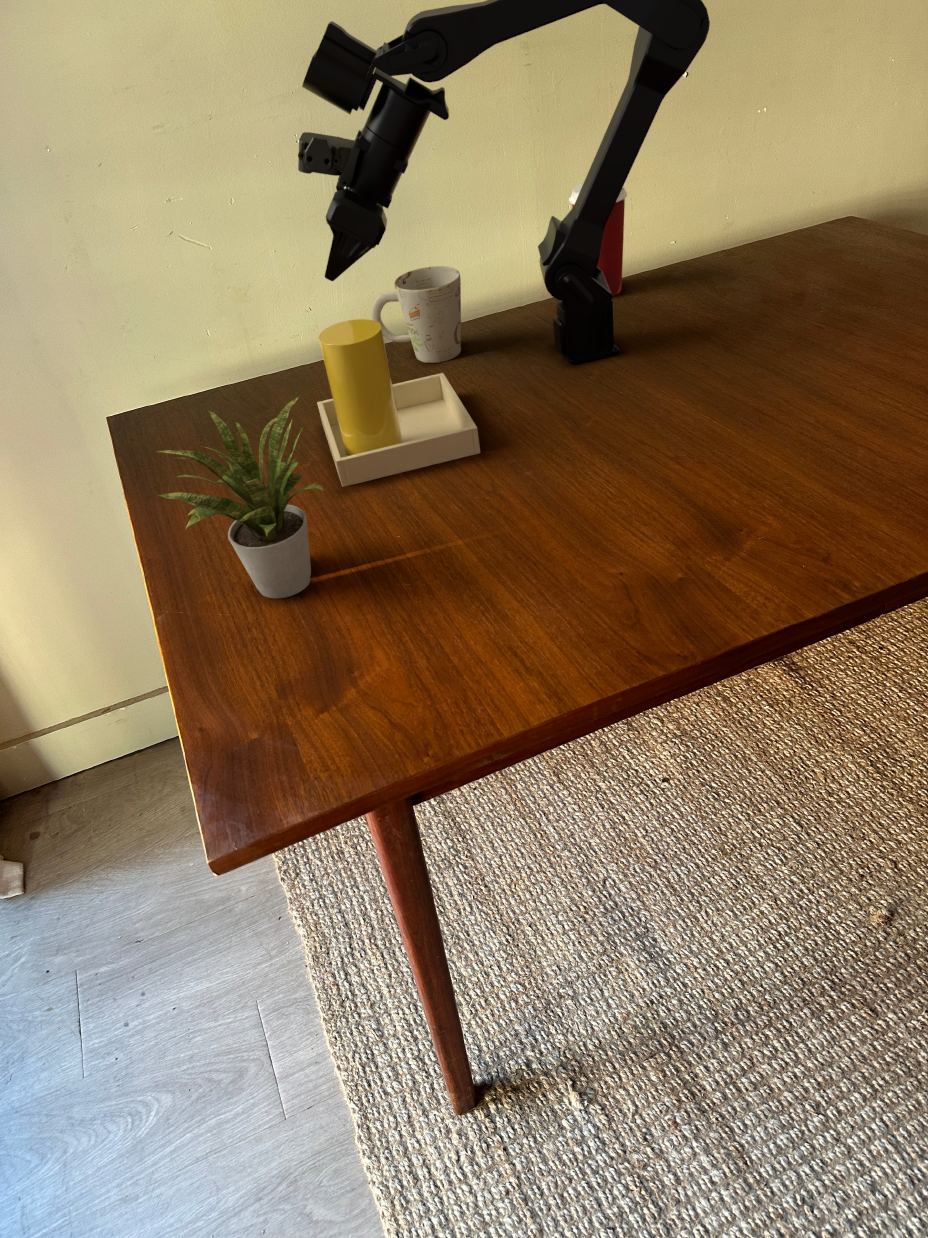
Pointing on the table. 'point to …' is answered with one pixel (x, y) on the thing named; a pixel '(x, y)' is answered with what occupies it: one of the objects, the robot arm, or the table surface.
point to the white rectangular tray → (409, 432)
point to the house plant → (258, 508)
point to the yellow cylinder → (361, 385)
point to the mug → (427, 312)
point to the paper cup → (610, 242)
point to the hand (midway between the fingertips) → (332, 265)
